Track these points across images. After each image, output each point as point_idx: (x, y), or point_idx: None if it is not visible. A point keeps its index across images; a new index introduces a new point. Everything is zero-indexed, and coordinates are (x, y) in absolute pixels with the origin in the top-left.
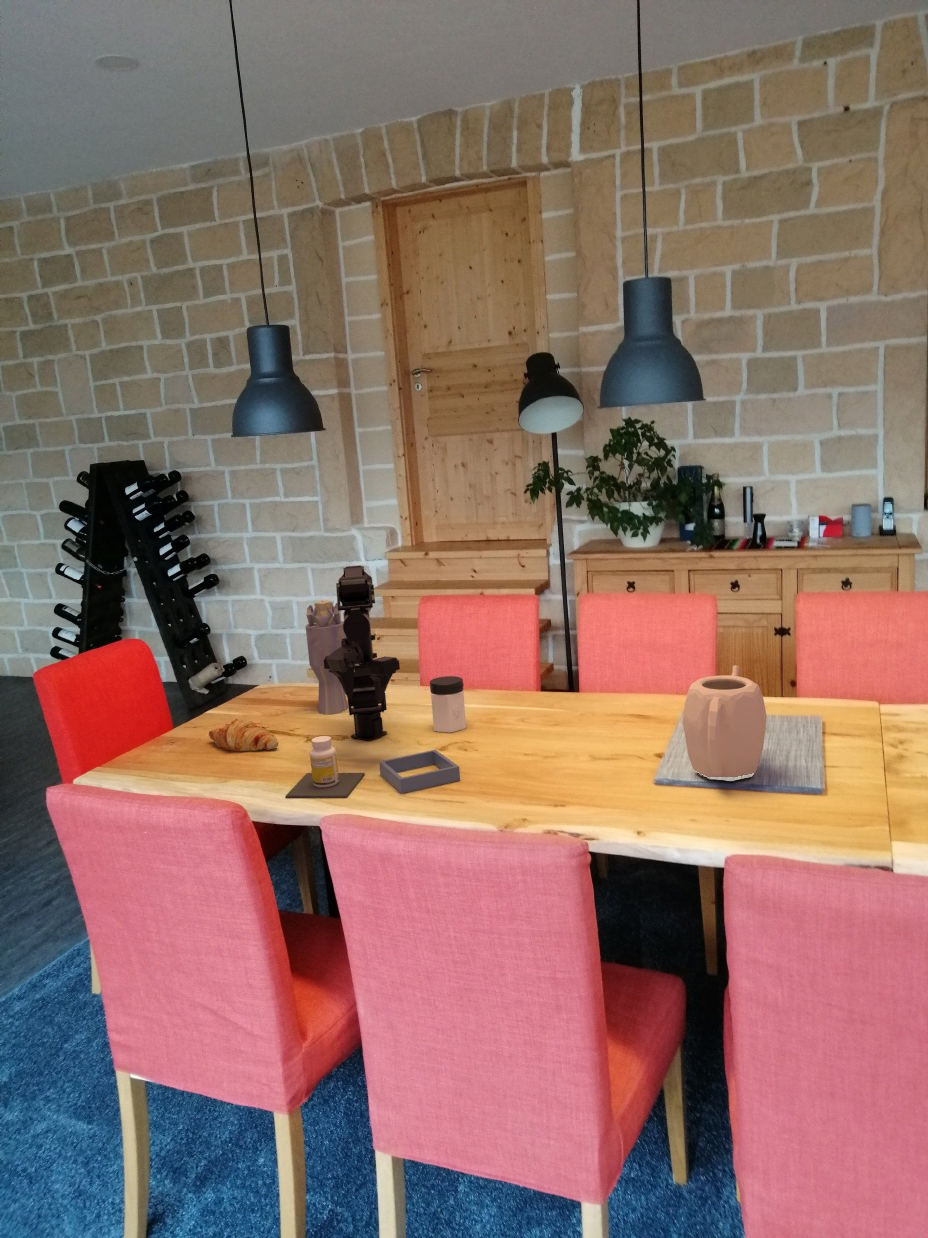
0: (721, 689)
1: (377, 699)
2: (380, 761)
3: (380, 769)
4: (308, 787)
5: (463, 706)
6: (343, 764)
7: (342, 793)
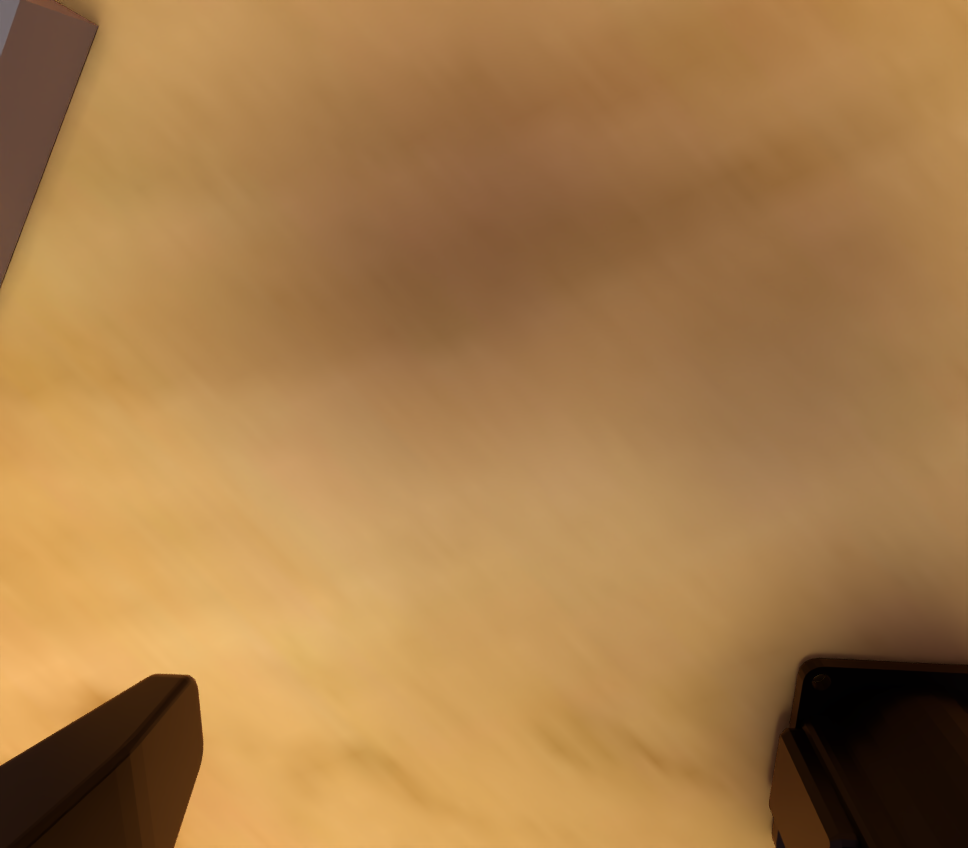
0: None
1: (120, 711)
2: (4, 3)
3: (45, 2)
4: None
5: None
6: (632, 90)
7: None
